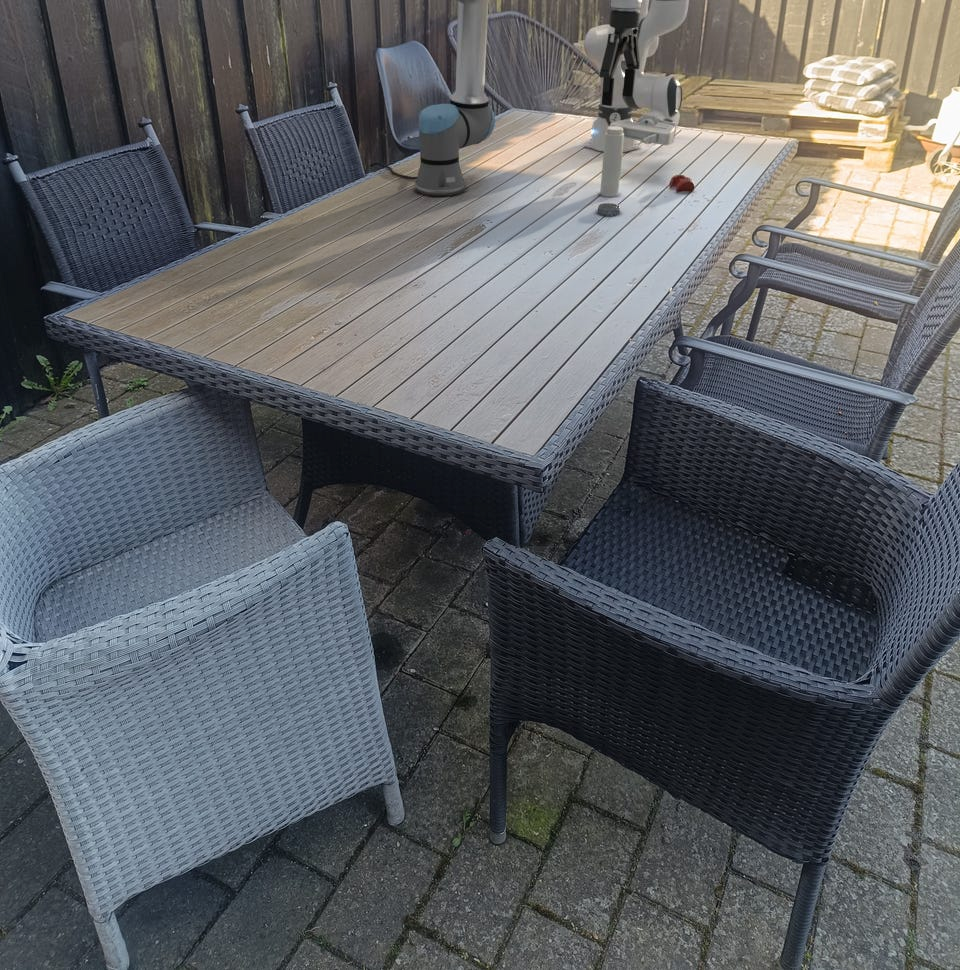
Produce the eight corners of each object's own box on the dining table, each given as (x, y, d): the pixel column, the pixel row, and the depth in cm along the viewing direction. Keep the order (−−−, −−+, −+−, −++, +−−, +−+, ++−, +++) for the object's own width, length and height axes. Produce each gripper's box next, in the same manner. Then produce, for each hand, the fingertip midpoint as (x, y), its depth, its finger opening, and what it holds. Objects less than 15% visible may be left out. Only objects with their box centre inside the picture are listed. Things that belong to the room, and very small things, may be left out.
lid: (599, 208, 244) (600, 202, 243) (620, 210, 242) (621, 204, 241) (595, 215, 239) (596, 208, 238) (617, 216, 238) (618, 210, 237)
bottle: (621, 193, 256) (627, 127, 244) (613, 198, 252) (619, 131, 241) (605, 190, 258) (610, 124, 247) (597, 195, 254) (602, 128, 243)
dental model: (685, 170, 259) (697, 178, 253) (684, 184, 262) (695, 192, 256) (668, 172, 258) (679, 180, 252) (667, 186, 261) (678, 194, 255)
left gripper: (619, 15, 201) (611, 110, 213) (658, 5, 218) (648, 93, 230) (590, 13, 204) (584, 107, 216) (631, 3, 221) (623, 90, 234)
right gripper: (620, 112, 268) (601, 121, 258) (681, 122, 259) (663, 132, 250) (618, 133, 272) (599, 143, 262) (678, 143, 263) (660, 154, 253)
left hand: (617, 100), depth 223 cm, fingers open, 13 cm apart
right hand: (631, 138), depth 256 cm, fingers open, 8 cm apart
